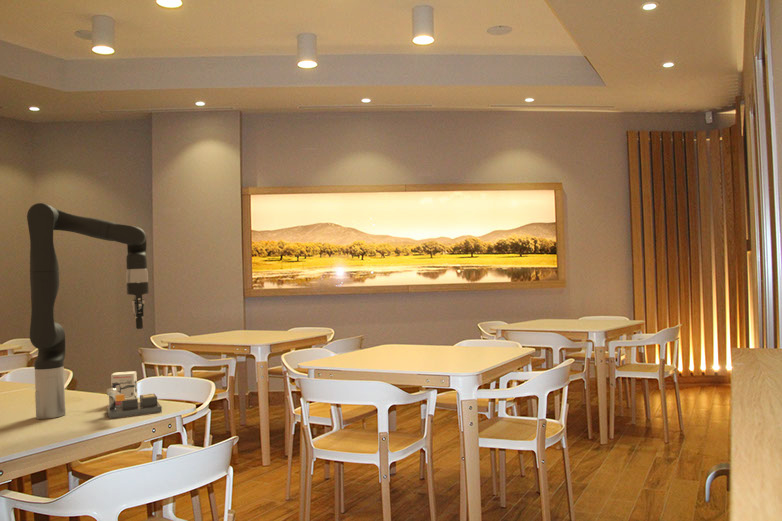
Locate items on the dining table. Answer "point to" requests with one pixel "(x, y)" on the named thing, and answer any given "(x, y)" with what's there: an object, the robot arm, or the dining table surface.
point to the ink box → (125, 383)
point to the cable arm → (115, 394)
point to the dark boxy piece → (134, 406)
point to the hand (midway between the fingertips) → (139, 328)
